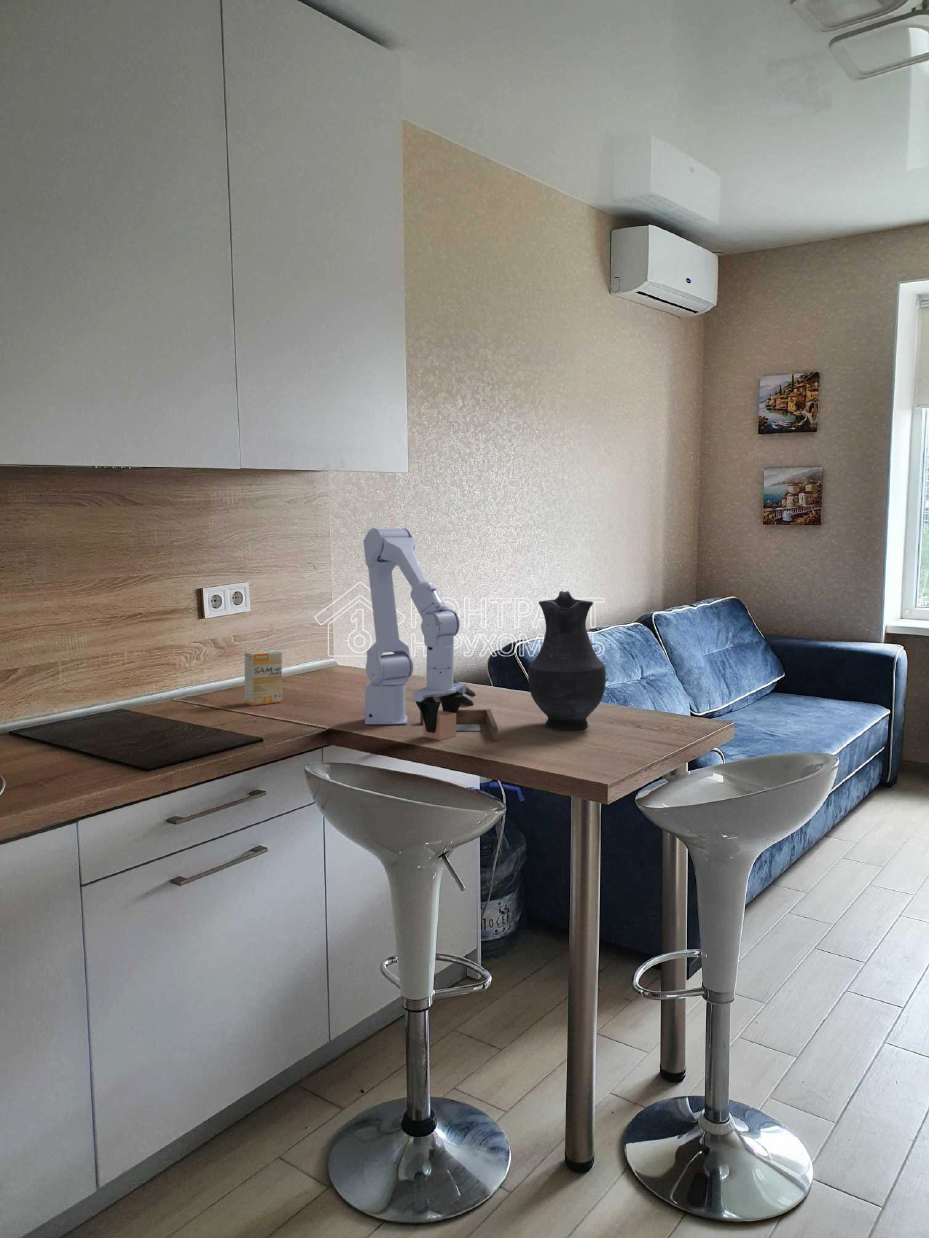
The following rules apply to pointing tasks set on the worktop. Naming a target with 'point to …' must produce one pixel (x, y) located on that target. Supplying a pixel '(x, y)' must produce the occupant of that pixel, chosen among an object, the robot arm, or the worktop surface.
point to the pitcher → (566, 666)
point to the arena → (474, 721)
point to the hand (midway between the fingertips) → (439, 729)
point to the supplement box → (263, 677)
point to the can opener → (468, 692)
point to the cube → (443, 726)
